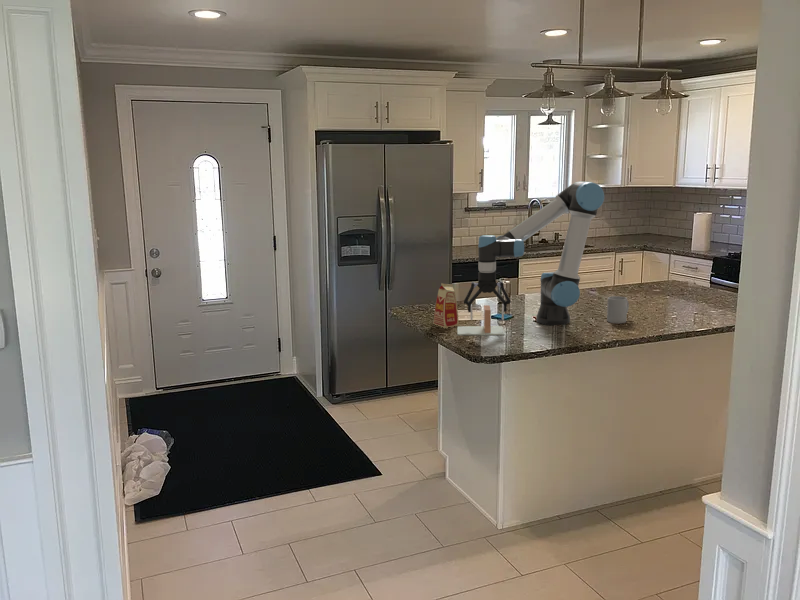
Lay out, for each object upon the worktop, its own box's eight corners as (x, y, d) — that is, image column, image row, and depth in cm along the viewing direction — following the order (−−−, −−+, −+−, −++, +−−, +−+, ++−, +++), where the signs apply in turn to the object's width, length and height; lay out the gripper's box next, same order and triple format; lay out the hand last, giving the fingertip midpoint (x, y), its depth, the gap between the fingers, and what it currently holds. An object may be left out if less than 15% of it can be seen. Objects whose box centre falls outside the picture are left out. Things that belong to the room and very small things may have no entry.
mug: (618, 324, 305) (619, 300, 303) (602, 321, 312) (603, 297, 310) (635, 320, 312) (636, 297, 310) (619, 317, 319) (620, 294, 316)
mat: (502, 327, 305) (502, 326, 304) (504, 335, 291) (504, 333, 291) (457, 327, 306) (457, 326, 306) (457, 335, 293) (457, 333, 292)
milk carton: (445, 328, 305) (444, 284, 301) (432, 325, 313) (431, 282, 309) (460, 325, 311) (460, 282, 307) (447, 322, 318) (447, 279, 314)
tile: (489, 327, 303) (489, 305, 301) (490, 332, 293) (490, 310, 291) (483, 327, 303) (483, 305, 301) (484, 332, 293) (484, 310, 291)
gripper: (515, 269, 296) (515, 317, 300) (458, 270, 298) (458, 317, 302) (517, 272, 288) (516, 321, 293) (458, 272, 291) (458, 321, 295)
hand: (487, 319), depth 297 cm, fingers open, 13 cm apart
